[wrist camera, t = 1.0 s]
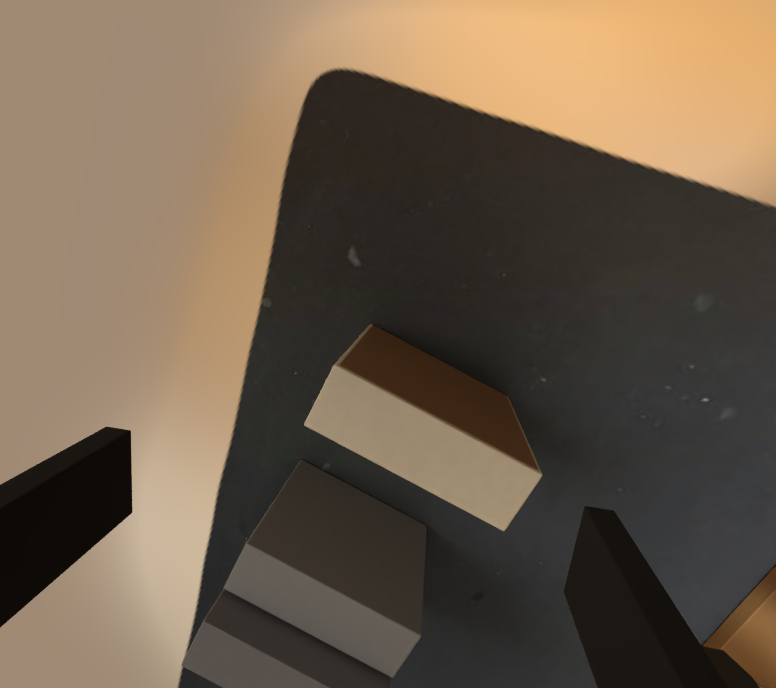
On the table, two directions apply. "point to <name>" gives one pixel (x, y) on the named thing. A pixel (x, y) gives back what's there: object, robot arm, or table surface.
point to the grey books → (317, 593)
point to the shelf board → (752, 633)
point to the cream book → (428, 426)
